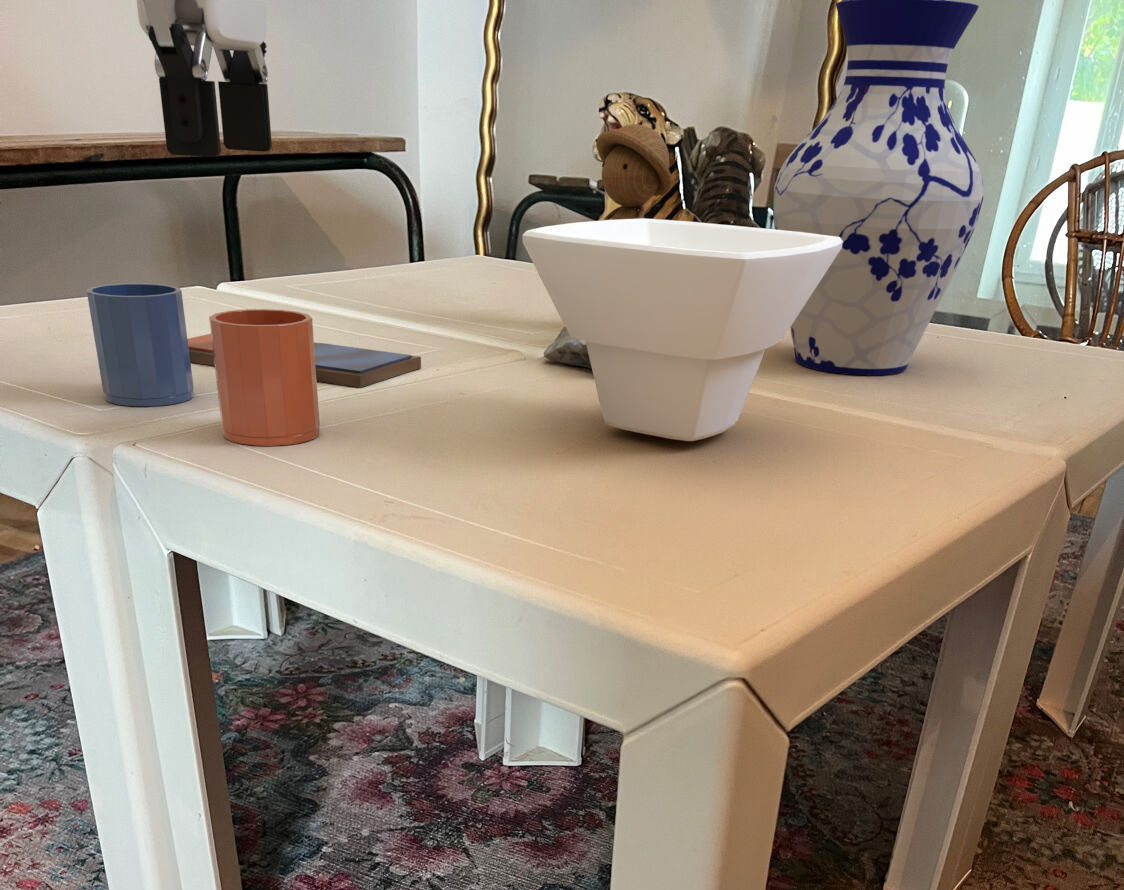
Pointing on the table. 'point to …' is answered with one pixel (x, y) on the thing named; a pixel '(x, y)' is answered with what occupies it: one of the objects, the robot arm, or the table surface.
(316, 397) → the terracotta cup
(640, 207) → the figurine
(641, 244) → the bowl
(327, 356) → the board
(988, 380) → the table surface
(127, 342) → the blue cup
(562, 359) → the rock
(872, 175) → the vase
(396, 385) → the table surface
